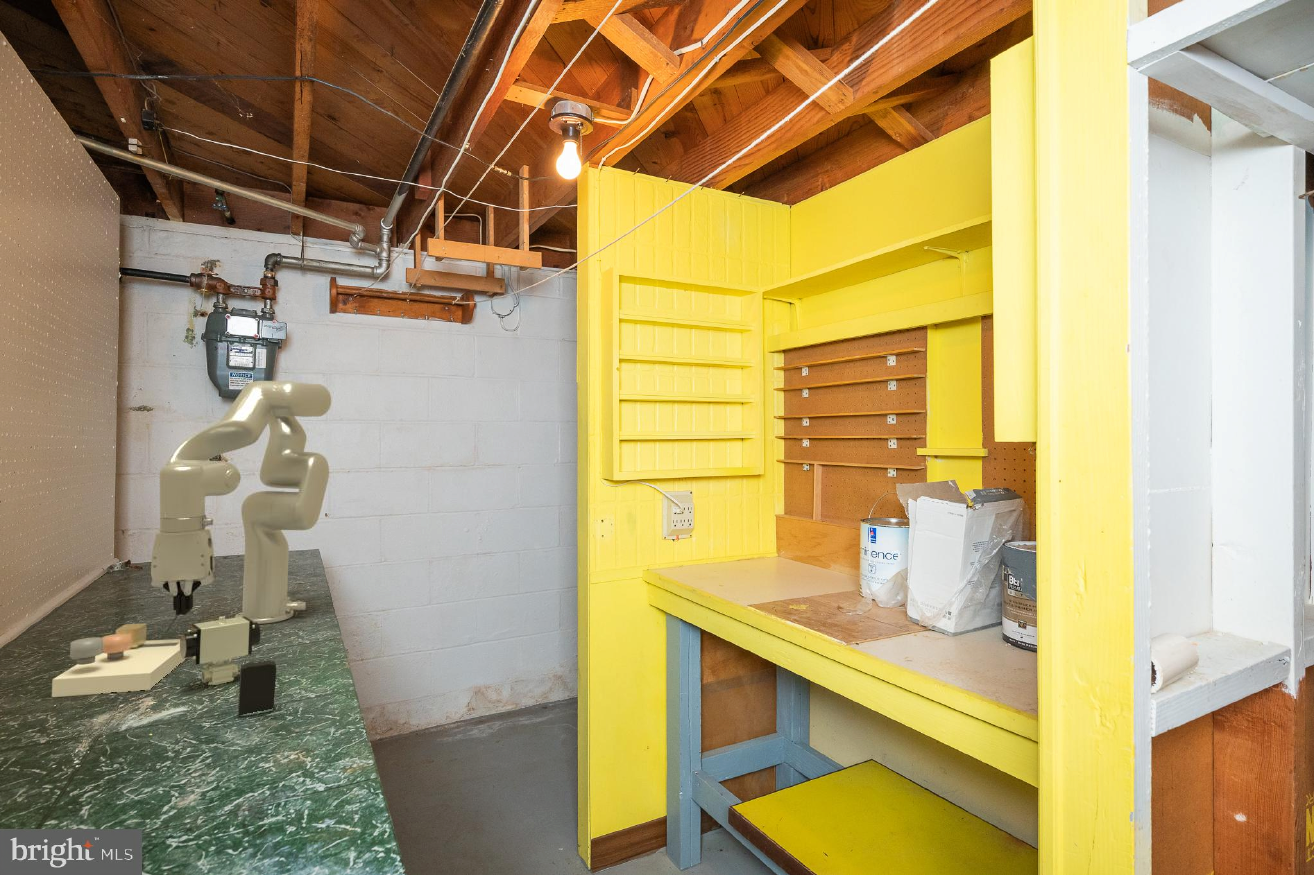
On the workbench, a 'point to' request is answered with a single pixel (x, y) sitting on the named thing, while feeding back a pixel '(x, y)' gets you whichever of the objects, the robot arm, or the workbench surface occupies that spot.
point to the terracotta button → (116, 645)
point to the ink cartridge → (257, 687)
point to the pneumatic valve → (219, 646)
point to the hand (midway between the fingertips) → (183, 613)
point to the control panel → (121, 670)
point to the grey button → (86, 649)
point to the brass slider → (134, 633)
